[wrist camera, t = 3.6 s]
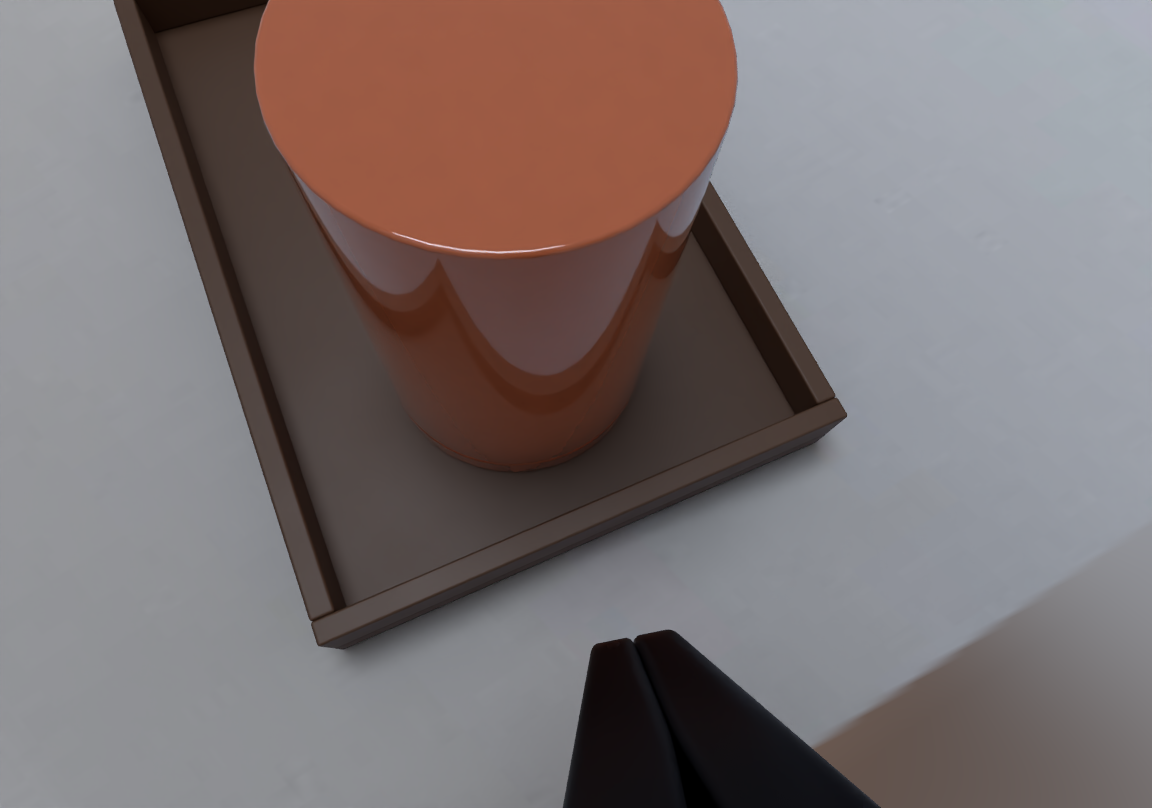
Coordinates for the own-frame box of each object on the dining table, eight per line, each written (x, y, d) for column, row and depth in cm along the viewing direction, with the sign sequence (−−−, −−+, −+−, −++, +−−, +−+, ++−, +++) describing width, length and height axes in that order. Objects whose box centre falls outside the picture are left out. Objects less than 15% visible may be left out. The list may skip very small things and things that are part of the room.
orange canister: (680, 414, 21) (827, 159, 10) (442, 513, 19) (341, 332, 9) (578, 215, 23) (617, -164, 12) (357, 292, 21) (194, -60, 11)
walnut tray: (817, 441, 22) (849, 415, 19) (342, 650, 19) (317, 647, 17) (533, -60, 28) (532, -122, 26) (144, 44, 25) (107, -15, 23)
